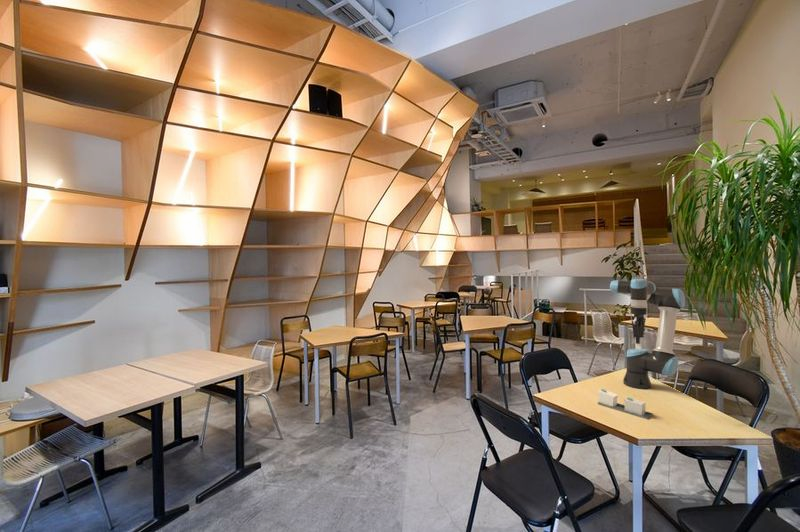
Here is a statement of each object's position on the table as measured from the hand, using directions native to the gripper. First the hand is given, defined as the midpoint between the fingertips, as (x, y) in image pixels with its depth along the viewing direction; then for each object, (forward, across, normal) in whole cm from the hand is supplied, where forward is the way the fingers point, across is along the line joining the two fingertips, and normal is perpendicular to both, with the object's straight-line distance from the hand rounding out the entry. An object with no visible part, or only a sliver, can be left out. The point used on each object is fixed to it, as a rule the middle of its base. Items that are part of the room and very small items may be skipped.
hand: (638, 348), depth 205 cm
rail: (+31, +16, -1) cm, 35 cm away
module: (+30, +16, -10) cm, 35 cm away
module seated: (+30, +16, +4) cm, 34 cm away
